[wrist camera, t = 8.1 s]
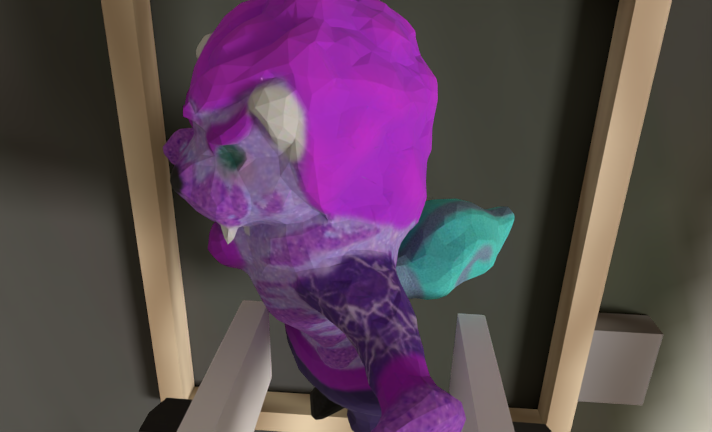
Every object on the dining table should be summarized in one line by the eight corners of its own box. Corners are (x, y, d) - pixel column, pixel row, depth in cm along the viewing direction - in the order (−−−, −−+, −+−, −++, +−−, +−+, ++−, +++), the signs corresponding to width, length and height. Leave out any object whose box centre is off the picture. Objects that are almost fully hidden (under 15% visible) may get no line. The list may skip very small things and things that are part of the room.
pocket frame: (175, 402, 29) (164, 423, 28) (111, -60, 20) (91, -64, 19) (616, 433, 28) (627, 455, 27) (749, -46, 19) (776, -48, 18)
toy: (205, 355, 22) (69, -44, 13) (401, 265, 26) (405, -95, 16) (353, 680, 14) (267, 203, 4) (613, 478, 17) (857, -10, 8)
